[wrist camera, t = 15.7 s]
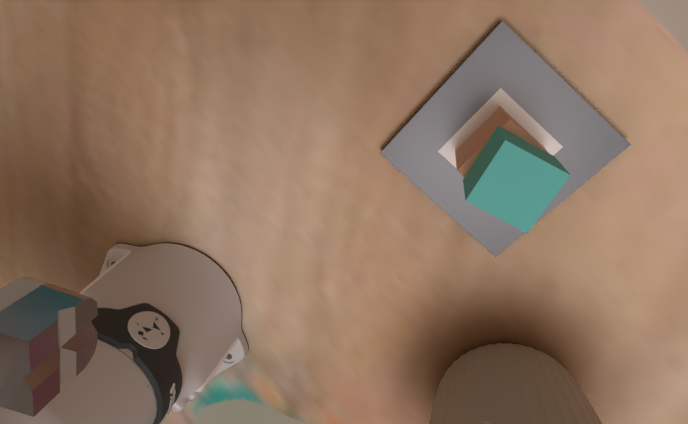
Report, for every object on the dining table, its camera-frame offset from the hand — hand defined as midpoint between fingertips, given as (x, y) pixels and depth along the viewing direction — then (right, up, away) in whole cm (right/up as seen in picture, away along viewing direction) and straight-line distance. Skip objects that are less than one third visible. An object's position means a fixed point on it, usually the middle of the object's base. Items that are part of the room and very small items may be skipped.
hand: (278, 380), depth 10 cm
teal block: (+13, +6, +24) cm, 28 cm away
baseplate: (+14, +9, +31) cm, 35 cm away
